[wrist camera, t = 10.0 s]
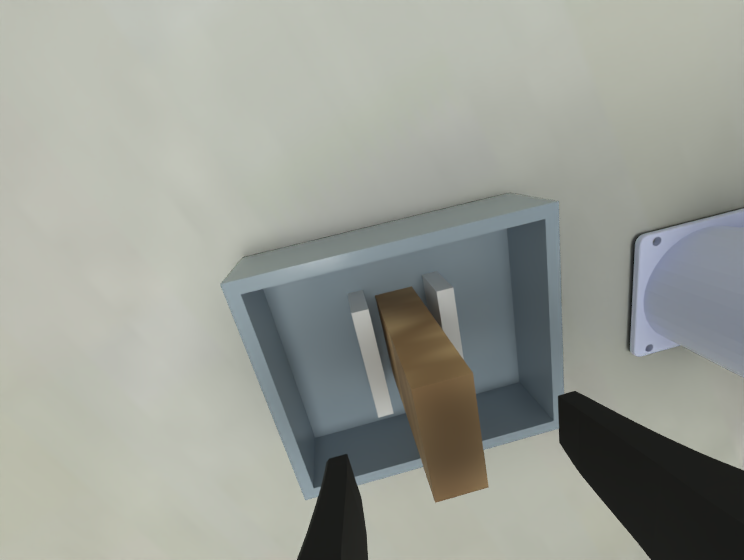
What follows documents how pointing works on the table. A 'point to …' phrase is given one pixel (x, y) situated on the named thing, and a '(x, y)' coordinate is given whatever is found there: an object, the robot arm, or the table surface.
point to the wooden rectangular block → (434, 395)
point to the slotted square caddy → (366, 338)
